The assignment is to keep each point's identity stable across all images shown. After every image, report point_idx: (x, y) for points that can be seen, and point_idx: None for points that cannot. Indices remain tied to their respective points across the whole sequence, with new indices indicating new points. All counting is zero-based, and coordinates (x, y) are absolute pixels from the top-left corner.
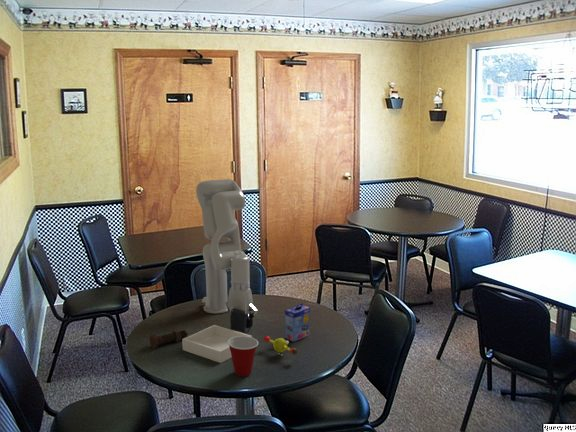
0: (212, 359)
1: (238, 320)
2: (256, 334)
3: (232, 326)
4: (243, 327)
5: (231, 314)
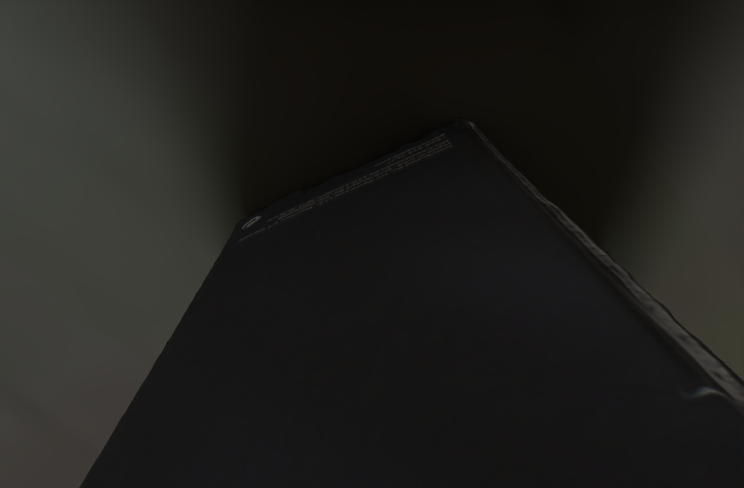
0: None
1: (292, 335)
2: None
3: (461, 178)
4: (204, 291)
5: (648, 363)
